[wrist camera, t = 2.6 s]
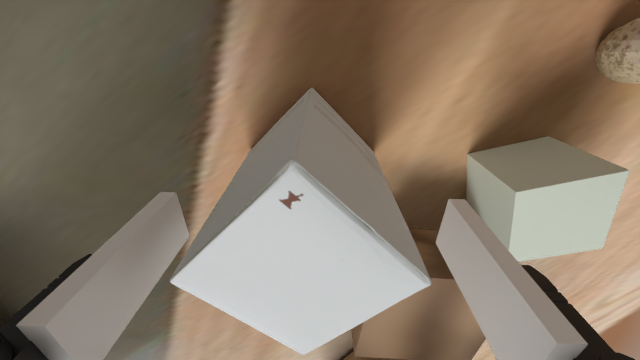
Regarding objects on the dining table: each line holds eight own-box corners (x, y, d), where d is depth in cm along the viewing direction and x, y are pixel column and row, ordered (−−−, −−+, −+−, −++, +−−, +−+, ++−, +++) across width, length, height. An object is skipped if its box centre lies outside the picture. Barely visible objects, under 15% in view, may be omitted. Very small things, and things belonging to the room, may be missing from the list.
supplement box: (246, 151, 21) (156, 281, 10) (312, 83, 18) (294, 152, 7) (311, 207, 23) (300, 361, 12) (377, 154, 21) (440, 287, 9)
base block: (348, 299, 29) (354, 356, 24) (364, 223, 24) (376, 274, 19) (443, 305, 30) (469, 363, 24) (479, 231, 25) (522, 284, 19)
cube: (465, 213, 23) (507, 263, 18) (466, 153, 21) (516, 192, 15) (537, 199, 23) (602, 248, 17) (548, 135, 20) (629, 170, 14)
